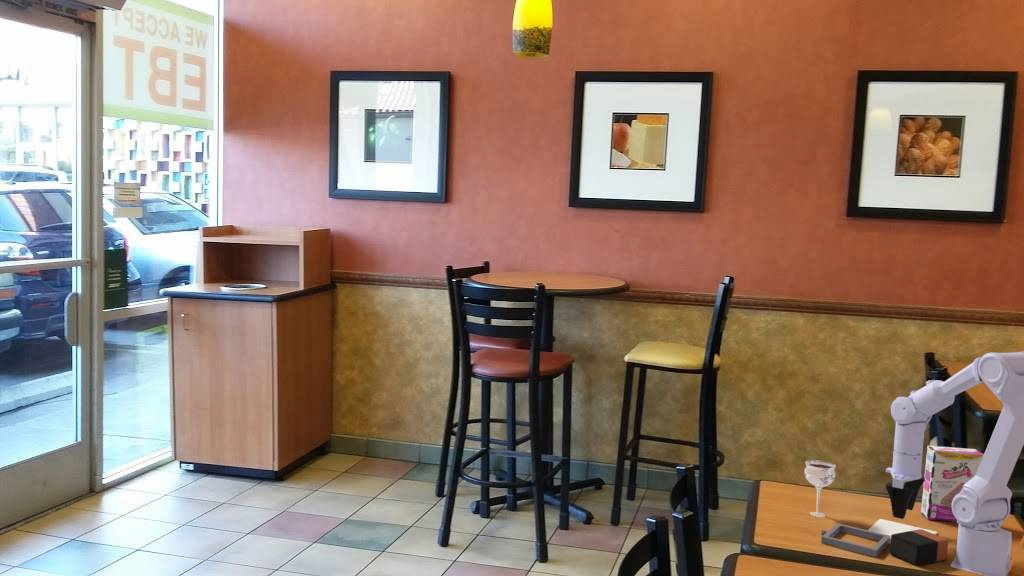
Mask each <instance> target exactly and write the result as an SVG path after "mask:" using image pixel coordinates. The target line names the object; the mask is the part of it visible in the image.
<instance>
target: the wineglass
mask: <svg viewBox="0 0 1024 576" xmlns="http://www.w3.org/2000/svg"><path fill="white" fill-rule="evenodd" d="M804 462H805V465H806V466H805V468H804V473H803V474H804V477H805V479H806V480H807V481H808V482H809V483H810V484H811V485H813V486H814V488H815V489H816V506H815V507H816V510H815V511H810V512H809V513H810V514H811V515H810V514H809V515H810V516H812V515H813V517H815V516H816V517H817V518H825V517H826V514H824V513H822V512H819V505H820V496H821V491H822V490H821V489H823V488H825V487H828V486H830V485H831V484H832V483H833V482H834V481H835V479H836V471H835V469H836V467H837V466H836V464H834V463H832V462H830V461H825V460H824V461H823V460H817V459H814V460H813V459H812V460H811V459H810V460H806V461H804ZM816 517H815V518H816Z"/></svg>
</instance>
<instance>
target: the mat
mask: <svg viewBox="0 0 1024 576" xmlns="http://www.w3.org/2000/svg"><path fill="white" fill-rule="evenodd" d="M918 529H922V530H925V531H927V532H930V533H932V534H935V535H937V534H938V531H934V530H931V529H927V528H922V527H918V526H914V525H913V526H912V525H909V524H906V523H901V522H896V521H891V520H887V519H884V518H879V519H878V520H877V521H876V522H875V523H873V524H872V526H870V528H868V531H872V532H877V533H881V534H885V535H889V536H891V535H892V534H897V533H902V532H908V531H913V530H918ZM890 541H891V538H890Z"/></svg>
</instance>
